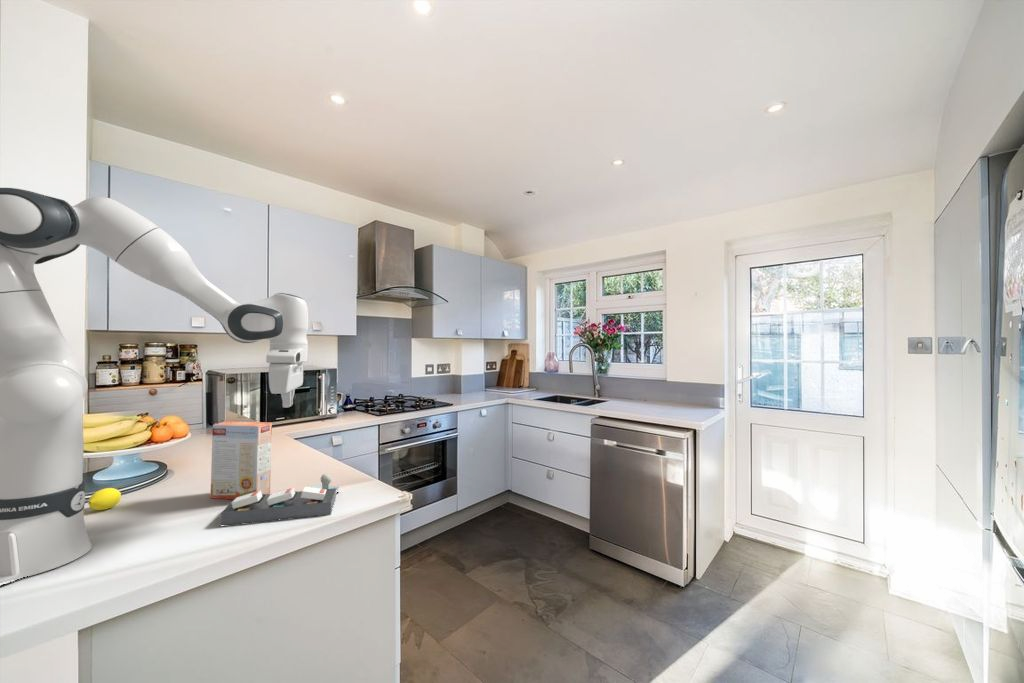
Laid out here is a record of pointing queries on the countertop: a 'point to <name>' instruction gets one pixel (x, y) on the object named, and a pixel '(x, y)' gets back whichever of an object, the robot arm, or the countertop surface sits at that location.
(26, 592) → the countertop surface
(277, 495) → the rocker
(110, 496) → the lemon
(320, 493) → the rocker
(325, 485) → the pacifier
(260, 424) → the cracker box
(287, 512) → the power strip
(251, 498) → the rocker
